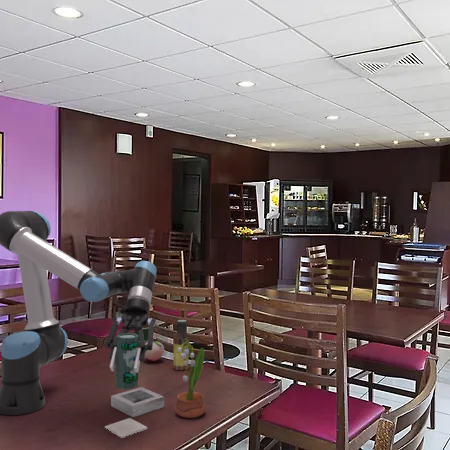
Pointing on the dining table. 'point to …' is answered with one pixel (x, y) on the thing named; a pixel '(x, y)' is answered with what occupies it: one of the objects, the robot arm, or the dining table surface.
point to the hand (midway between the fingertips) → (124, 369)
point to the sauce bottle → (178, 342)
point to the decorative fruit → (155, 351)
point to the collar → (147, 403)
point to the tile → (125, 427)
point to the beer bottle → (145, 333)
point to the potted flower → (191, 386)
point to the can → (126, 361)
